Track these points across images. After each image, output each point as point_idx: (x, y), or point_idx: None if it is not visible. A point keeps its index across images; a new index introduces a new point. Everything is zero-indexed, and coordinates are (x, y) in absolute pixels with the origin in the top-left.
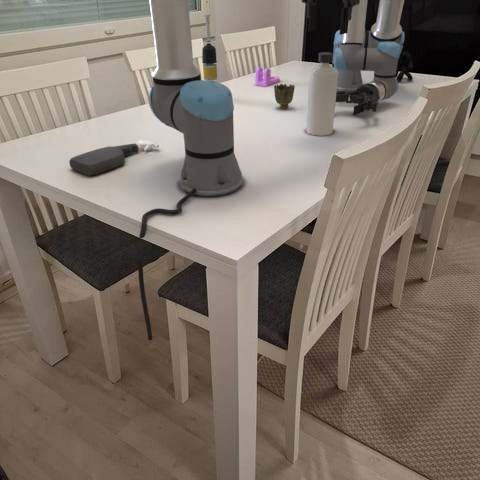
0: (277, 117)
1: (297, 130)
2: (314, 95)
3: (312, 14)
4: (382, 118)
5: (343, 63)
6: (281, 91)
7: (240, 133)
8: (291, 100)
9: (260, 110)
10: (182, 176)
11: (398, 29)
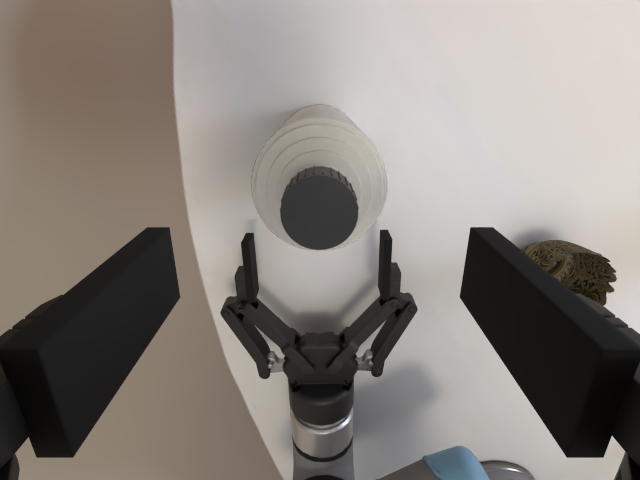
0: (503, 171)
1: (377, 108)
2: (318, 111)
3: (532, 317)
4: None
5: (435, 464)
6: (564, 252)
7: None
8: None
9: (592, 193)
10: None
11: None
